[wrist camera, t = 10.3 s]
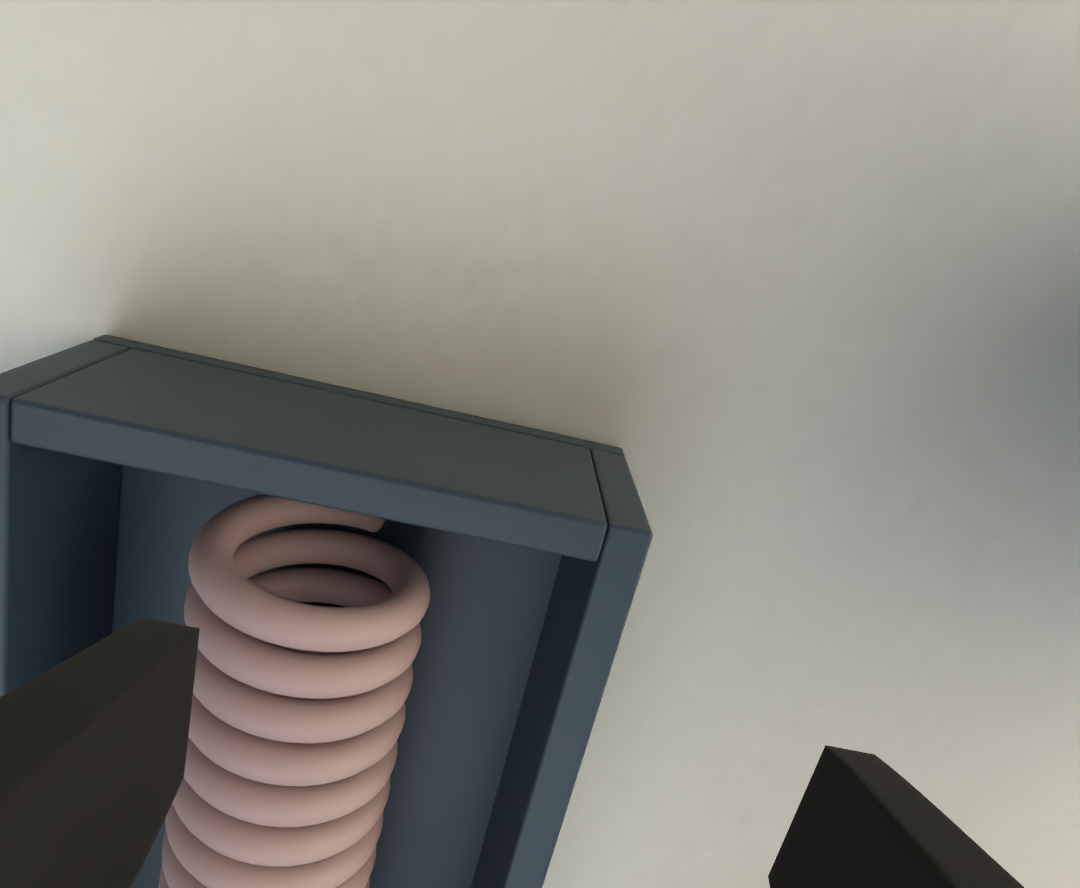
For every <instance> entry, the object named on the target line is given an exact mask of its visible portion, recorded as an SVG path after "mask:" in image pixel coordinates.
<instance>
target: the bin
mask: <svg viewBox="0 0 1080 888" xmlns="http://www.w3.org/2000/svg"><path fill="white" fill-rule="evenodd" d="M259 494H265V495H270V496H275V497H280V498H285V499H290V500H295V501H299V502H304V503H309V504H314V505H319V506H324V507H329V508H334V509H338V510H343V511H348V512H353V513H358V514H363V515H368V516H373V517H377V518H382V519H386V520H385V522H384V523H383V525H382V527H381V528H380V529H379V530H378V531H377V532H370V531H367V530H364V529H360V528H356V527H351V526H346V525H339V524H328V523H305V524H294V525H287V526H282V527H278V528H273V529H270V530H267V531H264V532H261V533H259V534H257V535H261V534H266V533H270V532H275V531H282V530H290V529H304V528H311V529H333V530H341V531H348V532H354V533H358V534H363V535H367V536H370V537H373V538H376V539H379V540H382V541H384V542H387V543H389V544H391V545H393V546H395V547H397V548H399V549H400V550H402V551H403V552H405V553H406V554H408V555H409V556H410V557H411V558H412V559H413V560H414V561H415V562H416V563H417V564H418V565H419V566H420V567H421V568H422V570H423V571H424V573H425V574H426V576H427V579H428V582H429V587H430V602H429V605H428V608H427V610H426V612H425V615H424V617H423V618H422V619H421V621H420V625H421V631H422V641H421V644H420V648H419V650H418V653H417V655H416V657H415V659H414V660H413V662H412V666H413V683H412V686H411V690H410V692H409V694H408V697H407V699H406V700H405V702H404V703H405V721H404V725H403V728H402V731H401V733H400V735H399V737H398V739H397V743H398V755H397V759H396V762H395V766H394V768H393V771H392V773H391V775H390V792H389V796H388V800H387V803H386V805H385V807H384V810H383V826H382V830H381V834H380V837H379V839H378V841H377V845H376V859H375V863H374V867H373V870H372V872H371V875H370V886H369V888H542V886H543V883H544V880H545V876H546V873H547V870H548V867H549V864H550V861H551V857H552V854H553V851H554V848H555V845H556V841H557V838H558V835H559V832H560V829H561V826H562V822H563V819H564V816H565V813H566V810H567V806H568V803H569V800H570V797H571V794H572V791H573V787H574V784H575V781H576V778H577V775H578V771H579V768H580V765H581V762H582V759H583V756H584V752H585V749H586V746H587V743H588V740H589V736H590V733H591V730H592V727H593V724H594V721H595V717H596V714H597V711H598V708H599V705H600V701H601V698H602V695H603V692H604V689H605V686H606V682H607V679H608V676H609V673H610V670H611V666H612V663H613V660H614V657H615V654H616V650H617V647H618V644H619V641H620V638H621V635H622V631H623V628H624V625H625V622H626V619H627V615H628V612H629V609H630V606H631V603H632V600H633V596H634V593H635V590H636V587H637V584H638V580H639V577H640V574H641V571H642V568H643V565H644V561H645V558H646V555H647V552H648V549H649V545H650V542H651V539H652V531H651V528H650V525H649V523H648V520H647V517H646V514H645V512H644V509H643V506H642V503H641V501H640V498H639V495H638V492H637V489H636V487H635V484H634V481H633V478H632V476H631V473H630V470H629V467H628V465H627V462H626V459H625V457H624V453H623V450H622V449H621V448H618V447H613V446H608V445H604V444H599V443H595V442H590V441H586V440H581V439H577V438H572V437H568V436H563V435H558V434H554V433H549V432H545V431H540V430H536V429H531V428H527V427H522V426H518V425H513V424H508V423H504V422H499V421H495V420H490V419H486V418H481V417H477V416H472V415H468V414H463V413H458V412H454V411H449V410H445V409H440V408H436V407H431V406H427V405H422V404H418V403H413V402H409V401H404V400H399V399H395V398H390V397H386V396H381V395H377V394H372V393H368V392H363V391H359V390H354V389H349V388H345V387H340V386H336V385H331V384H327V383H322V382H318V381H313V380H309V379H304V378H299V377H295V376H290V375H286V374H281V373H277V372H272V371H268V370H263V369H259V368H254V367H249V366H245V365H240V364H236V363H231V362H227V361H222V360H218V359H213V358H209V357H204V356H199V355H195V354H190V353H186V352H181V351H177V350H172V349H168V348H163V347H159V346H154V345H149V344H145V343H140V342H136V341H131V340H127V339H122V338H118V337H113V336H109V335H103V336H100V337H97V338H95V339H94V340H92V341H88V342H86V343H83V344H80V345H77V346H75V347H72V348H69V349H66V350H64V351H61V352H58V353H55V354H53V355H50V356H47V357H44V358H42V359H39V360H36V361H33V362H31V363H28V364H25V365H22V366H20V367H17V368H14V369H12V370H9V371H6V372H3V373H1V374H0V697H1V696H3V695H5V694H7V693H9V692H10V691H12V690H14V689H16V688H18V687H19V686H21V685H23V684H25V683H27V682H29V681H30V680H32V679H34V678H36V677H37V676H39V675H41V674H43V673H44V672H46V671H48V670H50V669H52V668H53V667H55V666H57V665H59V664H60V663H62V662H64V661H66V660H67V659H69V658H71V657H73V656H74V655H76V654H78V653H80V652H81V651H83V650H85V649H87V648H88V647H90V646H92V645H94V644H95V643H97V642H99V641H101V640H102V639H104V638H106V637H108V636H109V635H111V634H113V633H115V632H117V631H118V630H120V629H122V628H124V627H126V626H127V625H129V624H131V623H133V622H135V621H137V620H139V619H141V618H142V617H143V618H148V619H154V620H159V621H164V622H170V623H175V624H180V625H186V624H185V621H184V605H185V598H186V594H187V590H188V587H189V585H190V583H191V578H190V575H189V567H188V560H189V553H190V549H191V545H192V541H193V540H194V538H195V536H196V534H197V533H198V531H199V530H200V529H201V528H202V527H203V526H204V525H205V524H206V523H207V522H208V521H209V520H210V519H211V518H212V517H213V516H214V515H216V514H217V513H218V512H220V511H221V510H222V509H224V508H226V507H228V506H230V505H232V504H233V503H235V502H238V501H241V500H243V499H246V498H248V497H252V496H255V495H259ZM257 535H254V536H257ZM254 536H252V537H254ZM305 567H316V568H330V569H337V570H344V571H349V572H353V573H358V574H361V575H364V576H367V577H370V578H373V579H375V580H377V581H379V582H382V583H384V582H383V581H382V580H380V579H378V578H376V577H375V576H373V575H370V574H368V573H366V572H363V571H360V570H357V569H354V568H349V567H345V566H339V565H333V564H320V563H304V564H293V565H287V566H281V567H277V568H273V569H269V570H266V571H263V572H261V573H264V572H269V571H274V570H280V569H289V568H305ZM261 573H258V574H261ZM256 575H257V574H256ZM384 584H385V585H387V584H386V583H384ZM387 586H388V585H387ZM299 603H304V604H309V605H320V606H329V607H345V606H341V605H336V604H330V603H321V602H299ZM272 644H273V643H272ZM165 828H166V826H165V820H164V822H163V824H162V826H161V828H160V830H159V832H158V835H157V837H156V839H155V841H154V843H153V845H152V847H151V849H150V851H149V853H148V855H147V857H146V859H145V862H144V864H143V866H142V868H141V870H140V872H139V873H138V875H137V877H136V879H135V880H134V882H133V884H132V885H131V887H130V888H159V886H158V885H159V878H160V872H161V866H162V845H163V839H164V833H165Z"/></svg>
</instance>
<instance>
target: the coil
mask: <svg viewBox="0 0 1080 888" xmlns="http://www.w3.org/2000/svg"><path fill="white" fill-rule="evenodd" d="M385 520H386V519H382V518H377V517H373V516H368V515H363V514H358V513H353V512H348V511H343V510H338V509H334V508H329V507H324V506H319V505H314V504H309V503H304V502H299V501H295V500H290V499H285V498H280V497H275V496H270V495H265V494H259V495H255V496H252V497H248V498H246V499H243V500H241V501H238V502H235V503H233V504H232V505H230V506H228V507H226V508H224V509H222V510H221V511H220V512H218V513H217V514H216V515H214V516H213V517H212V518H211V519H210V520H209V521H208V522H207V523H206V524H205V525H204V526H203V527H202V528H201V529H200V530H199V531H198V533H197V534H196V536H195V538H194V540H193V541H192V545H191V549H190V553H189V560H188V567H189V575H190V578H191V583H190V585H189V587H188V590H187V594H186V598H185V605H184V621H185V624H186V626H191V627H196V628H200V631H199V641H198V650H197V659H196V669H195V678H194V687H193V697H192V706H191V716H190V725H189V734H188V744H187V753H186V763H185V772H184V778H183V780H182V783H181V785H180V787H179V789H178V791H177V794H176V796H175V798H174V800H173V802H172V804H171V807H170V809H169V811H168V813H167V815H166V817H165V826H166V828H165V833H164V839H163V845H162V866H161V872H160V878H159V885H158V886H159V888H369V886H370V875H371V872H372V870H373V867H374V863H375V859H376V845H377V841H378V839H379V837H380V834H381V830H382V826H383V810H384V807H385V805H386V803H387V800H388V796H389V792H390V775H391V773H392V771H393V768H394V766H395V762H396V759H397V755H398V743H397V739H398V737H399V735H400V733H401V731H402V728H403V725H404V721H405V703H404V702H405V700H406V699H407V697H408V694H409V692H410V690H411V686H412V683H413V666H412V662H413V660H414V659H415V657H416V655H417V653H418V650H419V648H420V644H421V641H422V631H421V625H420V621H421V619H422V618H423V617H424V615H425V612H426V610H427V608H428V605H429V602H430V587H429V582H428V579H427V576H426V574H425V573H424V571H423V570H422V568H421V567H420V566H419V565H418V564H417V563H416V562H415V561H414V560H413V559H412V558H411V557H410V556H409V555H408V554H406V553H405V552H403V551H402V550H400V549H399V548H397V547H395V546H393V545H391V544H389V543H387V542H384V541H382V540H379V539H376V538H373V537H370V536H367V535H363V534H358V533H354V532H348V531H341V530H333V529H311V528H304V529H290V530H282V531H275V532H270V533H266V534H261V535H257V534H259V533H261V532H264V531H267V530H270V529H273V528H278V527H282V526H287V525H294V524H305V523H328V524H339V525H346V526H351V527H356V528H360V529H364V530H367V531H370V532H377V531H378V530H379V529H380V528H381V527H382V525H383V523H384V522H385ZM254 535H257V536H254ZM252 536H254V537H252ZM304 563H320V564H333V565H339V566H345V567H349V568H354V569H357V570H360V571H363V572H366V573H368V574H370V575H373V576H375V577H376V578H378V579H380V580H382V581H383V582H384V583H386V584H387V585H388V586H387V585H385V584H384V583H382V582H379V581H377V580H375V579H373V578H370V577H367V576H364V575H361V574H358V573H353V572H349V571H344V570H337V569H330V568H316V567H305V568H289V569H280V570H274V571H269V572H264V573H261V572H263V571H266V570H269V569H273V568H277V567H281V566H287V565H293V564H304ZM258 573H261V574H258ZM256 574H257V575H256ZM299 602H321V603H330V604H336V605H341V606H345V607H329V606H320V605H309V604H304V603H299ZM272 643H273V644H272Z"/></svg>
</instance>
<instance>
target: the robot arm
mask: <svg viewBox="0 0 1080 888" xmlns="http://www.w3.org/2000/svg"><path fill="white" fill-rule="evenodd" d="M199 631H200V628H196V627H191V626H186V625H180V624H175V623H170V622H164V621H159V620H154V619H148V618H143V617H142V618H141V619H139V620H137V621H135V622H133V623H131V624H129V625H127V626H126V627H124V628H122V629H120V630H118V631H117V632H115V633H113V634H111V635H109V636H108V637H106V638H104V639H102V640H101V641H99V642H97V643H95V644H94V645H92V646H90V647H88V648H87V649H85V650H83V651H81V652H80V653H78V654H76V655H74V656H73V657H71V658H69V659H67V660H66V661H64V662H62V663H60V664H59V665H57V666H55V667H53V668H52V669H50V670H48V671H46V672H44V673H43V674H41V675H39V676H37V677H36V678H34V679H32V680H30V681H29V682H27V683H25V684H23V685H21V686H19V687H18V688H16V689H14V690H12V691H10V692H9V693H7V694H5V695H3V696H1V697H0V888H130V887H131V885H132V884H133V882H134V880H135V879H136V877H137V875H138V873H139V872H140V870H141V868H142V866H143V864H144V862H145V859H146V857H147V855H148V853H149V851H150V849H151V847H152V845H153V843H154V841H155V839H156V837H157V835H158V832H159V830H160V828H161V826H162V824H163V822H164V820H165V817H166V815H167V813H168V811H169V809H170V807H171V804H172V802H173V800H174V798H175V796H176V794H177V791H178V789H179V787H180V785H181V783H182V780H183V778H184V772H185V763H186V753H187V744H188V734H189V725H190V716H191V706H192V697H193V687H194V678H195V669H196V659H197V650H198V641H199ZM768 878H769V883H770V888H1024V887H1023V886H1022V885H1021V884H1020V883H1019V882H1018V881H1016V880H1015V879H1014V878H1013V877H1012V876H1011V875H1010V874H1009V873H1008V872H1007V871H1006V870H1004V869H1003V868H1002V867H1001V866H1000V865H999V864H998V863H997V862H996V861H995V860H994V859H992V858H991V857H990V856H989V855H988V854H987V853H986V852H985V851H984V850H983V849H982V848H980V847H979V846H978V845H977V844H976V843H975V842H974V841H973V840H972V839H971V838H970V837H969V836H967V835H966V834H965V833H964V832H963V831H962V830H961V829H960V828H959V827H958V826H957V825H955V824H954V823H953V822H952V821H951V820H950V819H949V818H948V817H947V816H946V815H944V814H943V813H942V812H941V811H940V810H939V809H938V808H937V807H936V806H935V805H933V804H932V803H931V802H930V801H929V800H928V799H927V798H926V797H924V796H923V795H922V794H921V793H920V792H919V791H918V790H917V789H915V788H914V787H913V786H912V785H911V784H910V783H909V782H907V781H906V780H905V779H904V778H903V777H902V776H900V775H899V774H898V773H897V772H896V771H894V770H893V769H892V768H891V767H890V766H888V765H887V764H886V763H885V762H883V761H882V760H881V759H879V758H878V757H877V756H876V755H874V754H869V753H863V752H858V751H853V750H847V749H842V748H837V747H831V746H825V748H824V750H823V752H822V755H821V757H820V759H819V762H818V764H817V766H816V768H815V771H814V773H813V775H812V778H811V780H810V782H809V784H808V787H807V789H806V791H805V793H804V796H803V798H802V800H801V803H800V805H799V807H798V809H797V812H796V814H795V816H794V819H793V821H792V823H791V825H790V828H789V830H788V832H787V835H786V837H785V839H784V841H783V844H782V846H781V848H780V851H779V853H778V855H777V857H776V860H775V862H774V864H773V866H772V869H771V871H770V873H769V876H768Z"/></svg>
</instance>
